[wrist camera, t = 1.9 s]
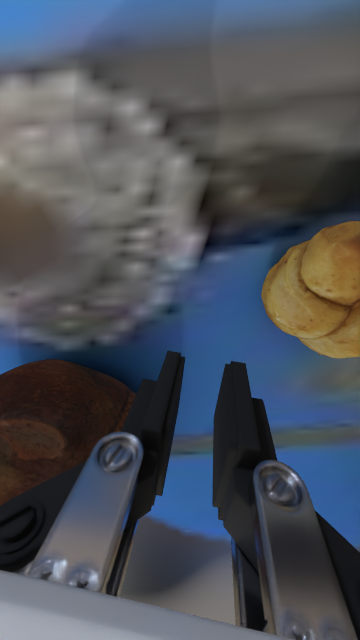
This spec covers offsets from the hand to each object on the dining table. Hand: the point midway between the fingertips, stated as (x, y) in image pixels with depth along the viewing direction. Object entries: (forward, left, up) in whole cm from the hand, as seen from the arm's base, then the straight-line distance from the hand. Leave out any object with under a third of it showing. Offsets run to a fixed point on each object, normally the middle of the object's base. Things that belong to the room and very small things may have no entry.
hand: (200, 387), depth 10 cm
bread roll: (0, +11, -17) cm, 21 cm away
